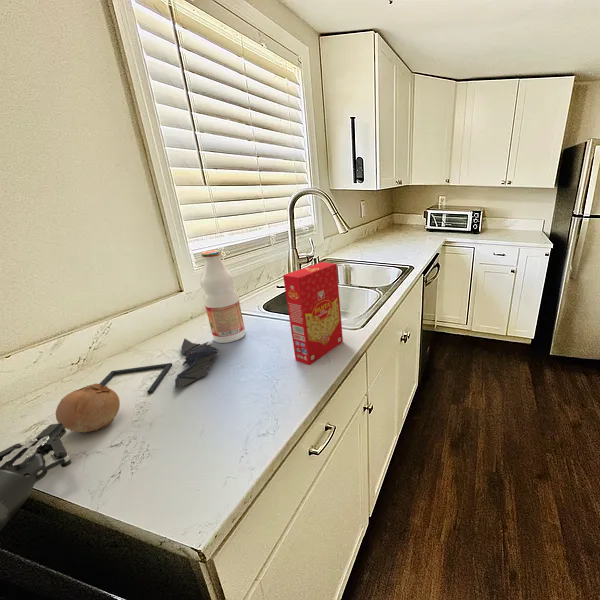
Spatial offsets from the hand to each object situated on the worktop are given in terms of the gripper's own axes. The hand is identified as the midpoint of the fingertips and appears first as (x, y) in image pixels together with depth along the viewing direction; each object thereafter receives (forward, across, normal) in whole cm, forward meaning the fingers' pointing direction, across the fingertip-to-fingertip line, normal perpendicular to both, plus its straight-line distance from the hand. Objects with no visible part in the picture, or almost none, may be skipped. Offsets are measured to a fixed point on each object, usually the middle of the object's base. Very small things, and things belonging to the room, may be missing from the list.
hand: (58, 427), depth 59 cm
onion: (+8, 0, +7) cm, 10 cm away
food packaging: (+26, -47, +7) cm, 54 cm away
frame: (+23, 0, +6) cm, 24 cm away
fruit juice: (+44, -19, +7) cm, 48 cm away
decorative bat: (+30, -14, +7) cm, 34 cm away
